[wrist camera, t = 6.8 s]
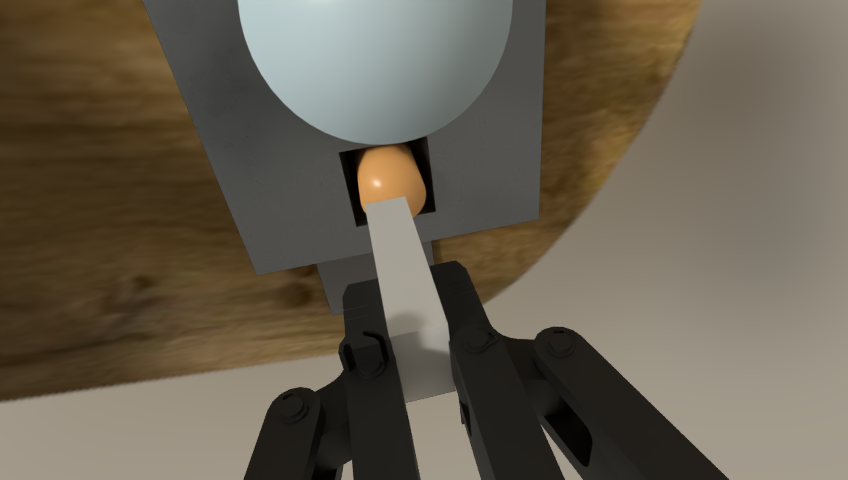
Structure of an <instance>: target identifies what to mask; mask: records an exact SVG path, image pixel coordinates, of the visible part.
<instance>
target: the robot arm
mask: <svg viewBox="0 0 848 480" xmlns="http://www.w3.org/2000/svg"><path fill="white" fill-rule="evenodd" d="M364 205H365V210H366V215H367V221H368V226H369V232H370V237H371V242H372V248H373V253H374V259H375V264H376V269H377V275H378V278H376V279H372V280H367V281H362V282H358V283H353V284H349V285H347V288H346V290H345V292H344V294H343V296H342V300H343V310H344V311H343V312H344V324H345V336H346V337H345V338H344V339H343V340H342V342H341V343H340V346H339V351H338V353H339V356H340V359H341V362H342V365H343V368H344V370H343V372H342V373H341V375H340V376H339V377H338V378H337V379H335V380H334V381H333V382H331V383H330V384H328V385H327V386H325V387H323V388H321V389H319V390H317V391H316V392H314V391H313V390H311V389H309V388H303V387H299V388H294V389H290V390H288V391H286V392H284V393H282V394H280V395H279V396H278V397H277V398H276V399H275V400H274V401H273V402H272V404H271V405H270V407H269V409H268V411H267V413H266V416H265V419H264V422H263V425H262V428H261V431H260V434H259V437H258V439H257V442H256V445H255V448H254V451H253V454H252V457H251V460H250V462H249V465H248V468H247V471H246V474H245V477H244V480H341V477H342V471H343V465H344V464H345V463H347V462H348V461H350V460H352V464H353V477H354V480H421V479H420V474H419V469H418V464H417V459H416V454H415V449H414V444H413V439H412V433H411V429H410V424H409V419H408V415H407V410H406V404H405V403H408V402H412V401H416V400H420V399H424V398H428V397H433V396H437V395H441V394H445V393H449V392H453V391H456V390H457V393H458V396H459V404H460V413H461V422H462V424H465V427H466V430H467V434H468V437H469V440H470V443H471V447H472V450H473V454H474V457H475V460H476V464H477V467H478V471H479V474H480V477H481V480H565V479H564V477H563V474H562V472H561V470H560V467H559V465H558V463H557V461H556V458H555V456H554V454H553V452H552V449H551V447H550V445H549V443H548V440H547V438H546V436H545V434H544V432H543V429H542V427H541V425H542V426H543V428H544V429H545V430H546V431H547V433H548V434H549V436H550V437H551V438H552V440H553V441H554V442H555V443H556V445H557V446H558V447H559V449H560V450H561V451H562V452H563V454H564V455H565V457H566V458H567V459H568V460H569V462H570V463H571V464H572V466H573V467H574V468H575V470H576V471H577V472H578V474H579V475H580V476H581V478H582V479H583V480H729V479H728V478H727V477H726V476H725V475H724V474H723V473H722V472H721V471H720V470H718V468H717V467H716V466H715V465H714V464H713V463H712V462H711V461H709V460H708V459H707V458H706V457H705V456H704V455H703V454H702V453H701V452H700V451H699V450H698V449H697V448H696V447H695V446H694V445H693V444H692V443H691V442H690V441H689V440H688V439H687V438H686V437H685V436H684V435H683V434H681V433H680V431H679V430H678V429H676V427H675V426H673V425H672V424H671V423H670V422H669V421H668V420H667V419H666V418H665V417H664V416H663V415H662V414H661V413H660V412H659V411H658V410H657V409H656V408H655V407H654V406H653V405H652V404H651V403H650V402H649V401H648V400H647V399H646V398H645V397H644V396H643V395H641V394H640V392H638V391H637V390H636V389H635V388H634V387H633V386H632V385H631V384H630V383H629V382H628V381H627V380H626V379H625V378H624V377H623V376H622V375H621V374H620V373H619V372H618V371H617V370H616V369H615V368H614V367H613V366H612V365H611V364H610V363H609V362H608V361H607V360H606V359H604V358H603V357H602V356H601V355H600V354H599V353H598V352H597V351H596V350H595V349H594V348H593V347H592V346H591V345H590V344H589V343H588V342H587V341H586V340H585V339H584V338H583V337H582V336H581V335H579V334H578V333H576V332H575V331H573V330H571V329H567V328H565V327H550V328H547V329H544V330H542V331H541V332H540V333H538V334H537V336H536V338H535V340H528V339H514V338H509V337H506V336H503V335H502V334H500V333H498V332H497V331H496V330H495V329H494V328H493V327H492V326H491V324H490V322H489V320H488V318H487V316H486V313H485V311H484V309H483V306H482V304H481V302H480V299H479V297H478V295H477V292H476V291H475V288H474V286H473V283H472V282H471V279H470V276H469V274H468V272H467V270H466V268H464V267H463V266H462V265H461V264H460V263H458V262H457V261H456V260H455V261H451V262H446V263H442V264H437V265H432V266H428V263H427V260H426V257H425V254H424V251H423V248H422V245H421V242H420V239H419V236H418V233H417V230H416V227H415V224H414V221H413V218H412V215H411V212H410V209H409V206H408V203H407V200H406V197H405V196H404V197H399V198H394V199H389V200H384V201H379V202H374V203H369V204H364ZM455 386H456V389H455ZM540 424H541V425H540Z"/></svg>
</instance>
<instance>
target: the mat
mask: <svg viewBox="0 0 848 480" xmlns="http://www.w3.org/2000/svg"><path fill="white" fill-rule="evenodd" d="M421 245H422V248H423V251H424V254H425V257H426V260H427V263H428V266H432V265H434V259H433V251H432V243H431V241H427V242H422V243H421ZM316 265H317V268H318V271H319V274H320V278H321V281H322V284H323V287H324V290H325V293H326V297H327V300H328V303H329V306H330V309H331V312H332V315H337V314H342V313H344V312H343V311H344V310H343V300H342V296H343V294H344V292H345V290H346V288H347V285H349V284H353V283H358V282H362V281H367V280H372V279H376V278H378V275H377V269H376V264H375V259H374V253H373V252H372V253H367V254H362V255H357V256H352V257H347V258H341V259H336V260H331V261H326V262H321V263H316Z"/></svg>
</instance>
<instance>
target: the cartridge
mask: <svg viewBox="0 0 848 480" xmlns="http://www.w3.org/2000/svg"><path fill="white" fill-rule="evenodd" d="M512 6H513V0H238V7H239V15H240V21H241V25H242V29H243V33H244V37H245V40H246V43H247V45H248V48H249V50H250V53H251V56H252V58H253V60H254V62H255V64H256V66H257V67H258V69H259V71H260V73H261V75H262V76H263V78H264V79H265V81H266V82H267V84H268V85H269V87H270V88H271V89H272V91H273V92H274V93H275V94H276V95H277V96H278V97H279V99H280V100H281V101H282V102H283V103H284V104H285V105H286V106H287V107H288V108H289V109H291V110H292V111H293V112H294V113H295V114H296V115H297V116H299V117H300V118H302V119H303V120H304V121H306V122H307V123H309V124H310V125H312V126H314V127H316V128H317V129H319V130H321V131H323V132H325V133H327V134H330V135H332V136H335V137H337V138H340V139H344V140H348V141H352V142H356V143H364V144H382V145H386V144H395V143H402V142H406V141H410V140H414V139H418V138H420V137H423V136H426V135H428V134H431V133H433V132H434V131H436V130H438V129H440V128H442V127H444V126H445V125H447V124H448V123H450V122H451V121H453V120H454V119H456V118H457V117H458V116H459V115H460V114H462V113H463V112H464V111H465V110H466V109H467V108H468V107H469V106H470V105H471V104H472V103H473V102H474V101H475V100H476V99H477V97H478V96H479V95H480V94H481V92H482V91H483V90H484V88H485V87H486V85H487V84H488V82H489V81H490V79H491V77H492V75H493V74H494V72H495V70H496V68H497V66H498V64H499V61H500V59H501V57H502V54H503V52H504V49H505V45H506V42H507V38H508V35H509V30H510V24H511V18H512Z"/></svg>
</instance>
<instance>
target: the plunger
mask: <svg viewBox="0 0 848 480" xmlns="http://www.w3.org/2000/svg"><path fill="white" fill-rule="evenodd" d="M354 156H355V164H356V171H357V178H358V186H359V193H360V200H361V205H362V208H363V210H364V211H365V213H366V210H365V205H364V204H369V203H374V202H379V201H384V200H389V199H394V198H399V197H404V196H405V197H406V200H407V203H408V206H409V209H410V212H411V215H412V218H414V217H415V216H416V215H417V214H418V213H419V212H420V210H421V209H422V207H423V205H424V203H425V199H426V189H425V186H424V183H423V180H422V178H421V175H420V172H419V170H418V167H417V165H416V162H415V159H414V157H413V154H412V151H411V149H410V146H409V143H408V141H406V142H402V143H395V144H386V145H377V146H371V147H366V148H360V149H355V150H354Z"/></svg>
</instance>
